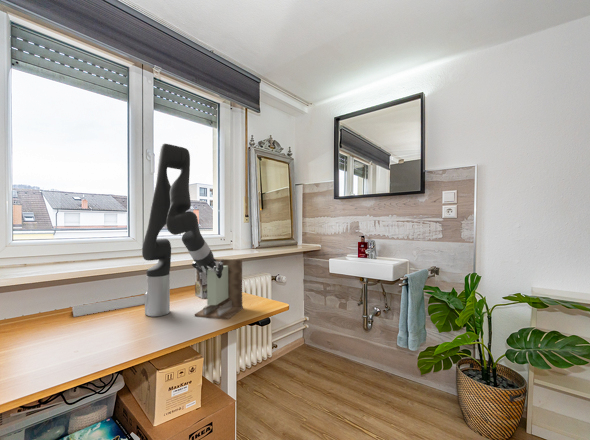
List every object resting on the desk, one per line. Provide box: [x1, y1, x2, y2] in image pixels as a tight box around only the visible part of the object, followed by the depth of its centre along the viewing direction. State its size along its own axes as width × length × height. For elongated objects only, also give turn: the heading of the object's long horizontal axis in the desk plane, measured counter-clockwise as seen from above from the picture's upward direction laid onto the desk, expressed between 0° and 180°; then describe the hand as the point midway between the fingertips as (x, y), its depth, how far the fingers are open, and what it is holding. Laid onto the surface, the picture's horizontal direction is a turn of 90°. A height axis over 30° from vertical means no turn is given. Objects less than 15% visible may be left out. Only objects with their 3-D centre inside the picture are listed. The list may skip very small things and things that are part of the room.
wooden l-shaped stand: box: [194, 258, 244, 320], centre depth 129 cm, size 16×15×23 cm
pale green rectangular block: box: [206, 266, 228, 306], centre depth 127 cm, size 5×12×15 cm, turn 168°
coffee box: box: [194, 267, 207, 299], centre depth 155 cm, size 9×6×16 cm
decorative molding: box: [72, 294, 145, 318], centre depth 138 cm, size 34×5×10 cm
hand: (215, 276), depth 125 cm, fingers closed on pale green rectangular block, 4 cm apart
